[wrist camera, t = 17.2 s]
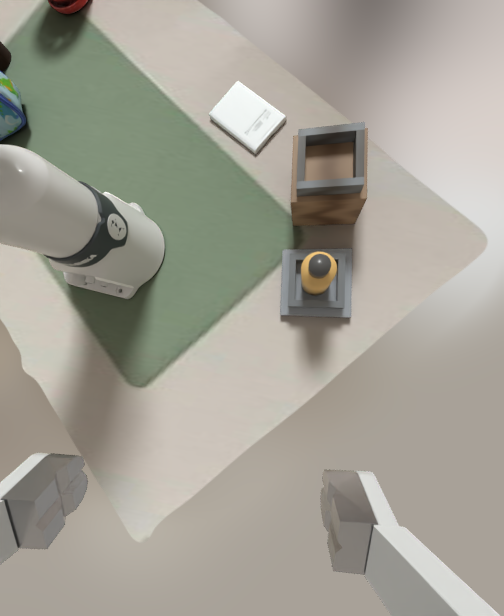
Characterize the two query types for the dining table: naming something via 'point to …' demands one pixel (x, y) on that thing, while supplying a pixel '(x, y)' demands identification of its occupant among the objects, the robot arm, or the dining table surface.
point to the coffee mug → (4, 57)
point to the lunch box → (10, 108)
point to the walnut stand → (329, 174)
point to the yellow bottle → (317, 273)
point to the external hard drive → (247, 117)
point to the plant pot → (67, 5)
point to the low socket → (323, 305)
